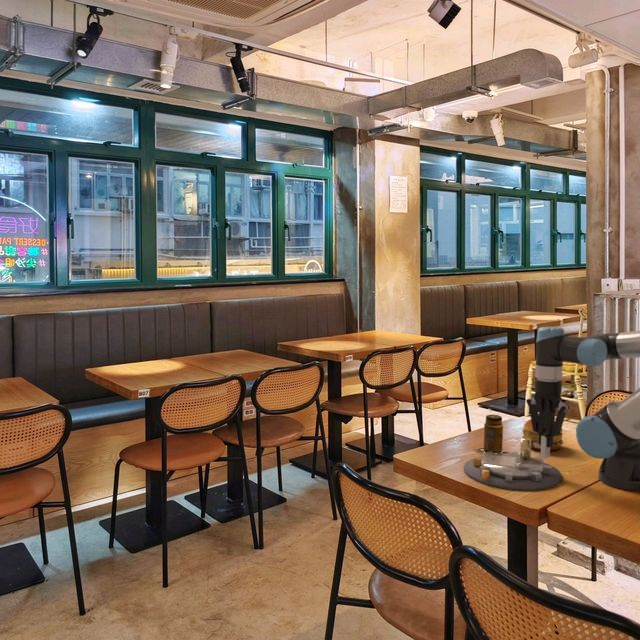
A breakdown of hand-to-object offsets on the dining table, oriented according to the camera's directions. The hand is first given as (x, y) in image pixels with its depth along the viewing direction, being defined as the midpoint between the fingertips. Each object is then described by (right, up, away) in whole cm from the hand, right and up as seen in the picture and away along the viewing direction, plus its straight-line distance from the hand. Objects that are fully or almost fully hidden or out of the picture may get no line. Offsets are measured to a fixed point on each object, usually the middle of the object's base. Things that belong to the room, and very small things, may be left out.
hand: (545, 456), depth 185 cm
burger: (+9, -3, +28) cm, 29 cm away
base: (-10, -5, +1) cm, 11 cm away
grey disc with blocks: (-10, -4, +1) cm, 10 cm away
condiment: (-10, -3, +23) cm, 25 cm away
